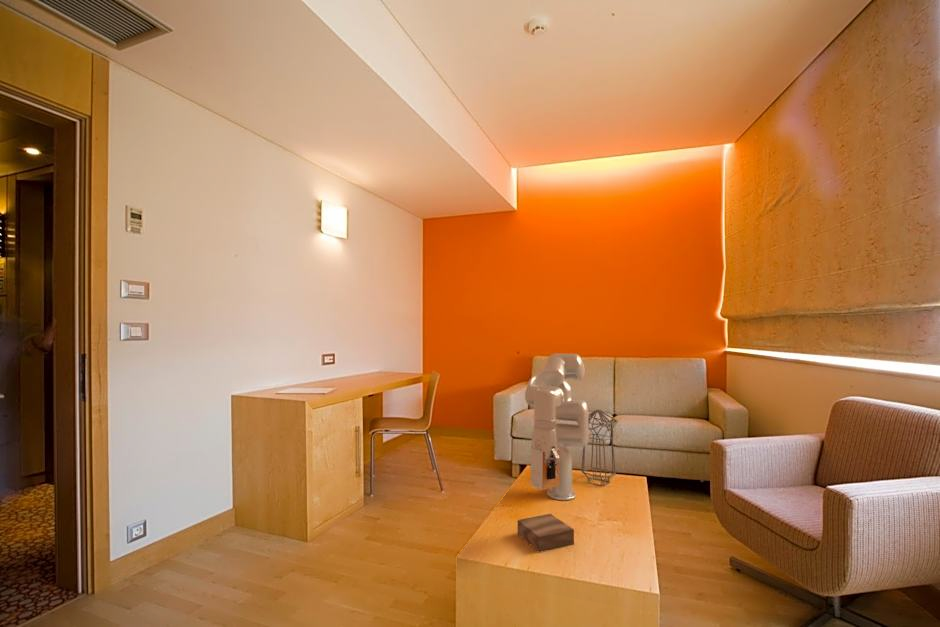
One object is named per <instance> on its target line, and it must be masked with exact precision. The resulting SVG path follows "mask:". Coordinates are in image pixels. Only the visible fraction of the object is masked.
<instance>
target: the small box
mask: <svg viewBox="0 0 940 627" xmlns="http://www.w3.org/2000/svg"><path fill="white" fill-rule="evenodd" d="M557 454H558V456H559V449H557ZM550 458H552V456H550ZM551 462H552V460H550V463H551ZM547 467H548V464H547V460H545V459H544V452H543V451H541V450H539V449H537V448H531V447H530V486H531V487H534V488H536V489H538V490H541V491H545V490H549V489H550V488H553V487H558V486H559V462H558V464H557V466H556V467H555V479H547Z"/></svg>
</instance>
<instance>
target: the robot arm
mask: <svg viewBox="0 0 940 627" xmlns="http://www.w3.org/2000/svg"><path fill="white" fill-rule="evenodd" d="M585 374H586V369H585V363H584V362H583V359H582V357H581V356H580V355H579V354H578V353H562V352H561V353H560V352H559V353H552V354H551V355H549V357H547V360H546V363H545V366H544V370H542V371H540V372H538V373H536V374H535V375H533V376H531V378H530V379H529V380H528V382H527V385H526V388H525V391H524V399H525V402H526V403H527V404H528V406H533V429H532V434H531V447H530V449H531V448H537V449H539V450H541V451H543V452H544V459H545V460H547V464H548V467H547V479H555V467H556V466H557V464H558V462H559V486H558V487H553V488H549V489H547V491H546V495H547V496H548V497H549V498H551V499H553V500H558V501H571V500H574V499H575V498H576V497H577V493H576V492H575V491H574V490H573V456H572V453H571V451H570V449H569V448H568V447H572V448H573V447H575V448H583V447H585V448H586V447H587V446H588V444H589V439H590V438H589V437H590V434H589V430H590V429H589V428H590V426H589V427H588V419H589V418H588V417H589V416H588V414H589V407H588V403H587V402H586V401H585V400H583V399H572V387H571V386H570V384H569V382H568V381H581V380H583V379H584V377H585ZM567 380H568V381H567ZM556 420H557V421H558V420H559V421H568V422H576V423H577V424H575V423H560V422H557V423H556ZM557 449H559V456H558V454H557ZM550 456H552V458H550ZM550 460H552V462H551V463H550Z"/></svg>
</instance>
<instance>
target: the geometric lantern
mask: <svg viewBox="0 0 940 627" xmlns="http://www.w3.org/2000/svg"><path fill="white" fill-rule="evenodd" d="M597 414H598V415H599V418H598V417H597ZM609 418H610V419H609ZM592 419H593V420H592ZM591 420H592V422H591ZM595 421H596V422H597V423H595ZM619 422H620V421H619V420H618V419H616V418H614V417H613V416H612V415H609V414H608V413H606V412H604V411H603V410H601V409H596V410H594V411H592V412H590V413H588V427H589V430H590V431H591V434H589V439H591V440H592V442H591V443H592V444H591V460H590V461H591V463H590V468H586V469H585V462H586V461H585V460H586V458H585V456H586V455H585V454H586V446H585V447H582V458H581V459H582V460H581V469H580V470H581V471H580V472H581V473H582V474H583V475H584V476H585V477H586V478H587V482H588V481H589V484H592V483H593V482H591V481H593V480H594V481H599V482H600V483H601V484H598V483H593V484H592V485H596V486H600V487H605V486H606V485H608V484H610V483H611V482H610V481H611V480H610V479H612V478H613V477H614V476H616V474H617V472H616V461H615V453H614V452H615V451H614V449H615V448H614V440H613V439H614V427H615V426H616V425H617V424H618V423H619ZM590 424H591V427H592V428H591V427H590ZM594 425H596V426H595V427H594ZM611 426H612V427H611ZM599 427H600V428H599ZM603 427H605V428H606V429H607V430H606V431H605V433H604V434H600V432H601V430H602V428H603ZM598 428H599V430H598V432H597V431H596V429H598ZM592 430H593V431H592ZM610 431H611V432H610ZM607 432H608V434H609V435H606V434H607ZM590 436H592V437H590ZM600 436H602V438H600ZM594 437H596V438H594ZM605 437H608V438H605ZM604 438H605V439H604ZM594 440H595V442H596V443H595V444H596V446H595V447H596V448H595V449H596V451H595V452H596V454H595V456H596V457H595V467H593V461H594V459H593V456H594ZM608 440H611V442H610V443H611V466H612V467H611V468H612V470H608V469H607V466H606V464H607V462H606V450H605V449H606V448H605V441H608ZM601 441H602V443H603V444H602V447H603V448H602V449H603V461H604V463H603V464H604V468H602V464H601V462H602V461H601ZM598 451H599V452H598ZM598 454H599V457H598ZM598 460H599V461H598ZM598 466H599V467H598ZM593 469H594V470H595V473H594V470H593ZM589 470H591V471H592V474H591V473H588V472H586V471H589ZM597 471H599V474H597V473H598V472H597ZM602 471H604V475H602ZM608 472H609V473H610V474H608V475H607V473H608ZM592 479H593V480H592ZM590 480H591V481H590ZM604 482H606V483H604ZM603 483H604V484H603Z"/></svg>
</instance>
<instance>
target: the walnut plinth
mask: <svg viewBox="0 0 940 627" xmlns="http://www.w3.org/2000/svg"><path fill="white" fill-rule="evenodd" d="M517 535H518V536H519V537H520V536H521V537H522V538H521V537H520V538H521V539H523V540H524V541H525V540H526V541H527V542H528V543H527V542H526V541H525V542H526V543H527V544H528V545H530V544H531V545H532V546H533V547H534V548H533V547H532V546H531V545H530V546H531V547H532V548H533V549H534V550H536V551H537V552H538V551H539V552H538V553H541V551H543V552H547V551H552V550H555V548H556V549H559V548H565V547H569V546H572V545H575V529H574V528H572V527H571V526H570V525H568V523H565V522H563V521H562V520H561V519H559V518H557V517H556V516H555V515H554V514H552V513H548V514H547V513H545V514H542V515H537V516H532V517H526V518H521V519H517ZM546 550H547V551H546Z"/></svg>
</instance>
